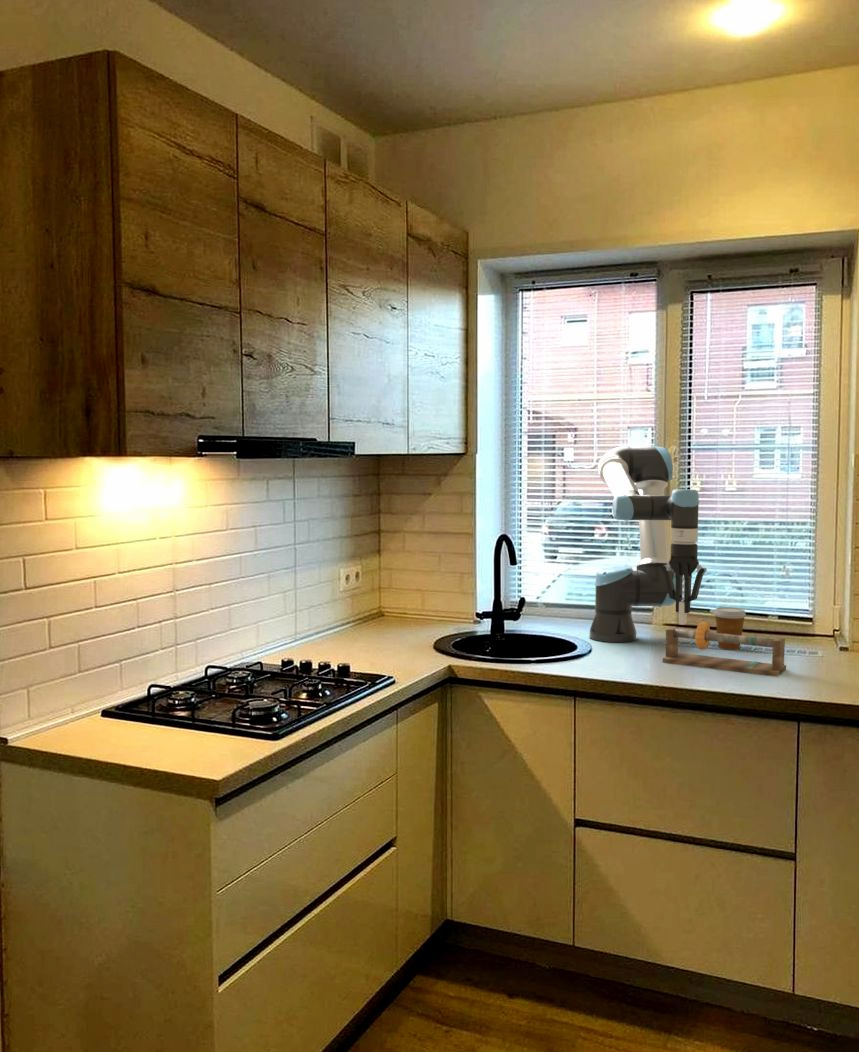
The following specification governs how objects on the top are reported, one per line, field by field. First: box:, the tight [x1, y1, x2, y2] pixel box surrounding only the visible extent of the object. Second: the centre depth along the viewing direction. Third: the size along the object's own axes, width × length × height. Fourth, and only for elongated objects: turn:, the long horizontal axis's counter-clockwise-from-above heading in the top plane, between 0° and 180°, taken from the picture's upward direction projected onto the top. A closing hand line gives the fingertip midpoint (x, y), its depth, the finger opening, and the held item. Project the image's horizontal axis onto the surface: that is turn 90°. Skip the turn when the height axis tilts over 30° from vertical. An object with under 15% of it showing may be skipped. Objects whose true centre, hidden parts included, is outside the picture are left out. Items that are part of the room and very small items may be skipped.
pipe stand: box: [661, 626, 787, 677], centre depth 266 cm, size 32×10×9 cm, turn 56°
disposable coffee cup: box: [713, 606, 747, 650], centre depth 292 cm, size 10×10×12 cm
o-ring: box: [694, 621, 711, 651], centre depth 269 cm, size 3×8×8 cm, turn 146°
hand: (682, 623), depth 272 cm, fingers closed
